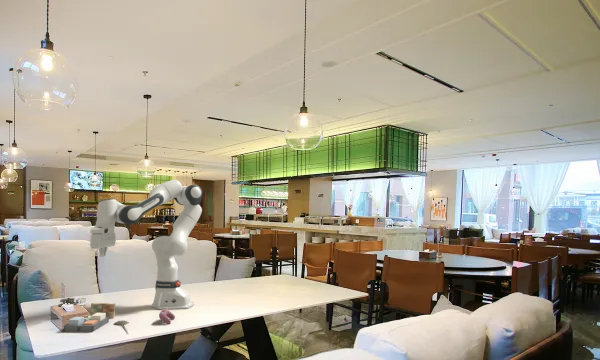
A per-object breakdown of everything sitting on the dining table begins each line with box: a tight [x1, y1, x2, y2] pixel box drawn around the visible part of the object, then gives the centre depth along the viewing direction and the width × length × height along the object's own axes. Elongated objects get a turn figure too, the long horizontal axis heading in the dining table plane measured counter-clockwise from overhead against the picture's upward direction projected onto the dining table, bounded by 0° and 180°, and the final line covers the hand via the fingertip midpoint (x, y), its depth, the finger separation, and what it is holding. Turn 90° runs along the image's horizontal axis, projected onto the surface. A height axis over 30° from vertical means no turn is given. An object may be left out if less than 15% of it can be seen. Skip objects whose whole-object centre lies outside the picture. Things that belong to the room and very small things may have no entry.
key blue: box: [67, 316, 84, 325], centre depth 159 cm, size 4×5×3 cm
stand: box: [89, 302, 116, 319], centre depth 176 cm, size 12×4×8 cm, turn 93°
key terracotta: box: [83, 320, 98, 325], centre depth 159 cm, size 4×5×3 cm
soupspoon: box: [113, 319, 129, 335], centre depth 163 cm, size 22×3×7 cm
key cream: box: [91, 313, 106, 321], centre depth 166 cm, size 4×5×3 cm
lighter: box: [57, 297, 78, 307], centre depth 176 cm, size 8×3×10 cm, turn 145°
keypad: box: [63, 317, 110, 333], centre depth 162 cm, size 12×15×4 cm
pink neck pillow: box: [158, 309, 176, 325], centre depth 177 cm, size 10×5×7 cm, turn 5°
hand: (102, 256), depth 189 cm, fingers closed
